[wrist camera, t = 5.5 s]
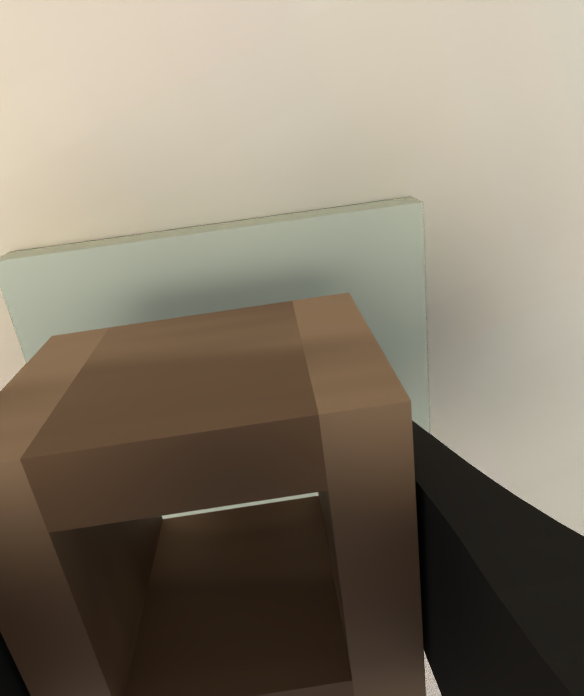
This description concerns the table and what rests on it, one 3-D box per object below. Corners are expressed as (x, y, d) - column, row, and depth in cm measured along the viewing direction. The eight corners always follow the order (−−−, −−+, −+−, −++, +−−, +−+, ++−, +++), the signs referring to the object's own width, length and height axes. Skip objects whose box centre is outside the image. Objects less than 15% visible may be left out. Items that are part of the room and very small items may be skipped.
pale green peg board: (426, 607, 19) (483, 762, 14) (140, 651, 19) (105, 822, 14) (411, 196, 14) (493, 235, 9) (9, 252, 13) (-117, 320, 9)
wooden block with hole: (370, 526, 12) (427, 716, 8) (126, 563, 11) (67, 773, 8) (348, 292, 10) (410, 400, 6) (51, 335, 9) (-75, 473, 6)
